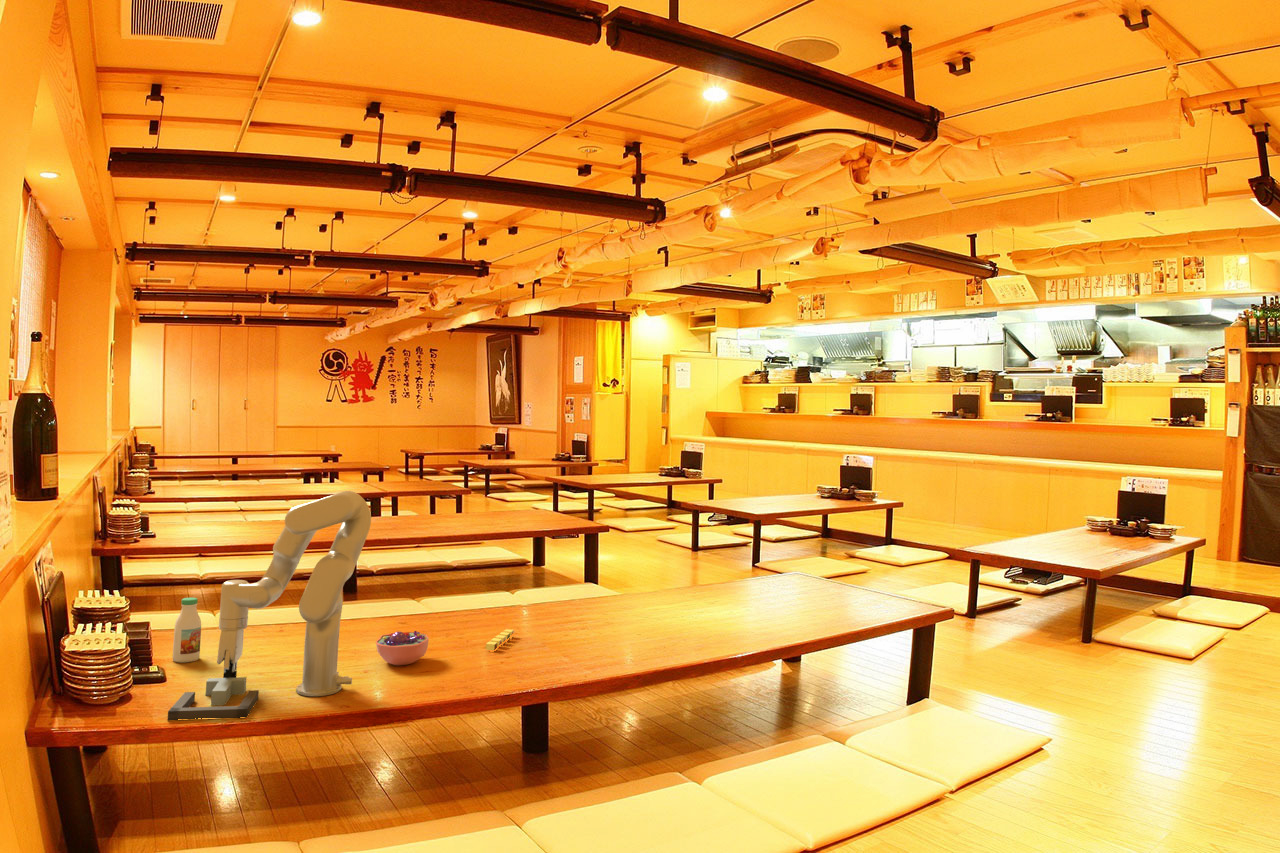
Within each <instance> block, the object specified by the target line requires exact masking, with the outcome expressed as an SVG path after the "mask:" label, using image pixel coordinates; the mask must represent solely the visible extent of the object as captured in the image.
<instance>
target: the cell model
mask: <svg viewBox="0 0 1280 853" xmlns="http://www.w3.org/2000/svg"><path fill="white" fill-rule="evenodd" d="M429 639H430V638H429V636H428V635H427V634H426V633H421V632H419V631H416V630H415V631H413V632H412V631H411V632H410V631H409V632H403V631H398V630H397V631H395V632H391V633H386V634H382V635H380V636H379V638H378V639H377V640H376V641H375V644H376V650H377V651H376V652H377V653H378V655H379V656H380V657H381V658H382V659H383V661H385V662H387V663H388V664H390V665H392V666H406V665H410V664H413V663H415V662H417V661H418V660H420V659H421V658H423V657H424V656H425V654H426V653H427V651H428V647H429Z"/></svg>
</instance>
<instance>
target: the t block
mask: <svg viewBox="0 0 1280 853" xmlns="http://www.w3.org/2000/svg"><path fill="white" fill-rule="evenodd" d="M246 689H247V677H246V676H245V677H243V676H242V677H239V676H238V677H236V678H223V677H213V678H212V677H211V678H208V679H207V680H206V685H205V696H206V695H207V696H211V701H210V706H211V705H215V706H226V704H227V702H228V701H229V699H230V698H231V696H232V695H244V694H245V692H246Z"/></svg>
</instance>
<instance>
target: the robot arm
mask: <svg viewBox="0 0 1280 853" xmlns="http://www.w3.org/2000/svg"><path fill="white" fill-rule="evenodd" d="M338 524H340V527H339V528H338V530H337V532H336V534H335V536H334V540H333V542H332V544H331V546H330V549H329V551H328V552H327V554H326V555H325V556H323V557H322V558H321V559H319V560H318V562H317V563H316V565H315V566H314V568H313V569H312V571H311V574H310V577H309V579H308V581H307V584H306V586H305V588H304V591H303V594H302V595H301V598H300V600H299V605H298V610H299V612H298V613H299V614H300V616H301V618H302V619H303V620H304V621H305V622H306V624H305V632H304V633H305V634H304V635H305V636H304V648H303V649H304V650H303V667H302V682H301V683H299V684H298V685H297V686H296V688H295V690H296V691H295V692H296V693H297V694H298V695H301V696H306V697H324V696H330V695H333V694H337V693H338V692H340V691H341V690H342V685H352V684H353V677H349V676H348V675H345V676H341V675H339V674H340V673H339V671H338V661H339V660H338V659H339V658H338V657H339V645H340V644H339V642H340V641H339V640H340V629H341V628H340V627H341V618H342V611H343V606H344V605H343V602H344V598H343V594H342V590H343V588H344V586H345V583H346V582H347V581H348V580H349V579H350V578H351V577H352V575H353V573H354V571H355V569H356V568H355V567H356V565H357V563H358V560H359V557H360V555H361V553H362V550H363V548H364V545H365V543H366V540H367V538H368V535H369V532H370V529H371V524H372V514H371V510H370V507H369V505H368V503H367V501H366V500H365V498H363V497H362V496H361V495H360V494H359V493H358V492H355V491H351V490H345V491H340V492H337V493H334V494H331V495H328V496H325V497H323V498H320V499H316V500H313V501H310V502H307V503H302V504H298V505H295V506H293V507H291V508H290V509H289V510H288V511H287V513H286V515H285V517H284V525H285V526H284V527H283V529H282V531H281V532H280V534H279V536H278V537H277V539H276V540H275V542H274V544H273V546H272V552H273V557H272V560H271V562H270V564H269V566H268V568H267V570H266V572H265V573H264V574H263V576H262V577H261V579H260V580H258V581H257V582H253V583H250V582H248V581H247V580H243V579H230V580H227V581H225V582H223V583H222V584H221V589H220V590H221V592H220V606H219V622H218V623H219V624H218V629H219V630H221V631H220V635H219V642H218V650H217V657H216V658H217V659H216V663H217V665H221V664H222V663H223V676H222V678H237V674H238V671H237V670H238V669H237V668H238V661H239V660H240V659H241V657H242V655H243V650H244V649H243V648H244V630H245V629H247V628H248V620H249V608H251V609H256V610H258V609H259V610H260V609H264V608H266V607H268V606H269V605H271V604H273V603H274V602H275V601H277V600H278V599H279V598H281V595H282V594H283V592H284V591H285V590H286V588H287V586H288V584H289V582H290V581H291V579H292V578H293V575H294V573H295V571H296V569H297V567H298V566H299V563H300V561H301V558H302V557H303V555H304V553H305V552H306V549H307V547H308V546H309V544H310V543H311V541H312V540H313V538H314V536H315V535H316V533H317V531H319V530H323V529H326V528H328V527H332V526H335V525H338Z"/></svg>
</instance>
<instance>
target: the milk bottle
mask: <svg viewBox="0 0 1280 853" xmlns="http://www.w3.org/2000/svg"><path fill="white" fill-rule="evenodd" d="M198 599H199V598H197V597H184V598H182V599H181V610H180V612H179V614H178V616H177V618H176V621H175V624H174V633H173V646H172V661H173V662H175V663H192V662H195V661H198V660H199V658H200V656H201V655H200V654H201V641H202V640H201V638H202V637H201V636H202V620H201V617H200V615H199V613H198V607H197V606H198Z"/></svg>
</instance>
